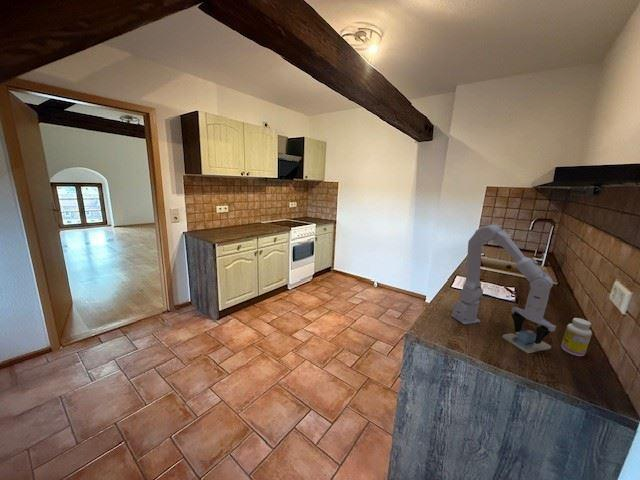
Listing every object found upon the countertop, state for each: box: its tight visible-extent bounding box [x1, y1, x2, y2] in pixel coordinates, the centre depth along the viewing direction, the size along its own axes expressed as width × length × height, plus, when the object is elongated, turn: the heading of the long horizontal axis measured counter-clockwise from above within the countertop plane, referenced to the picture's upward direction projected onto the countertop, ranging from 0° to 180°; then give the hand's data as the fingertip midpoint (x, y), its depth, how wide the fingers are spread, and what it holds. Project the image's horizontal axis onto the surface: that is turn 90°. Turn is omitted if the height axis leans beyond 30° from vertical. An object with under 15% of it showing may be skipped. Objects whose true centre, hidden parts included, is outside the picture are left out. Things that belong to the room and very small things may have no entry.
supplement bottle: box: [560, 317, 593, 357], centre depth 95 cm, size 7×7×13 cm
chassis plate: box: [501, 332, 552, 354], centre depth 101 cm, size 12×10×1 cm
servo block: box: [517, 329, 537, 345], centre depth 100 cm, size 5×3×5 cm, turn 106°
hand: (527, 337), depth 100 cm, fingers open, 7 cm apart
